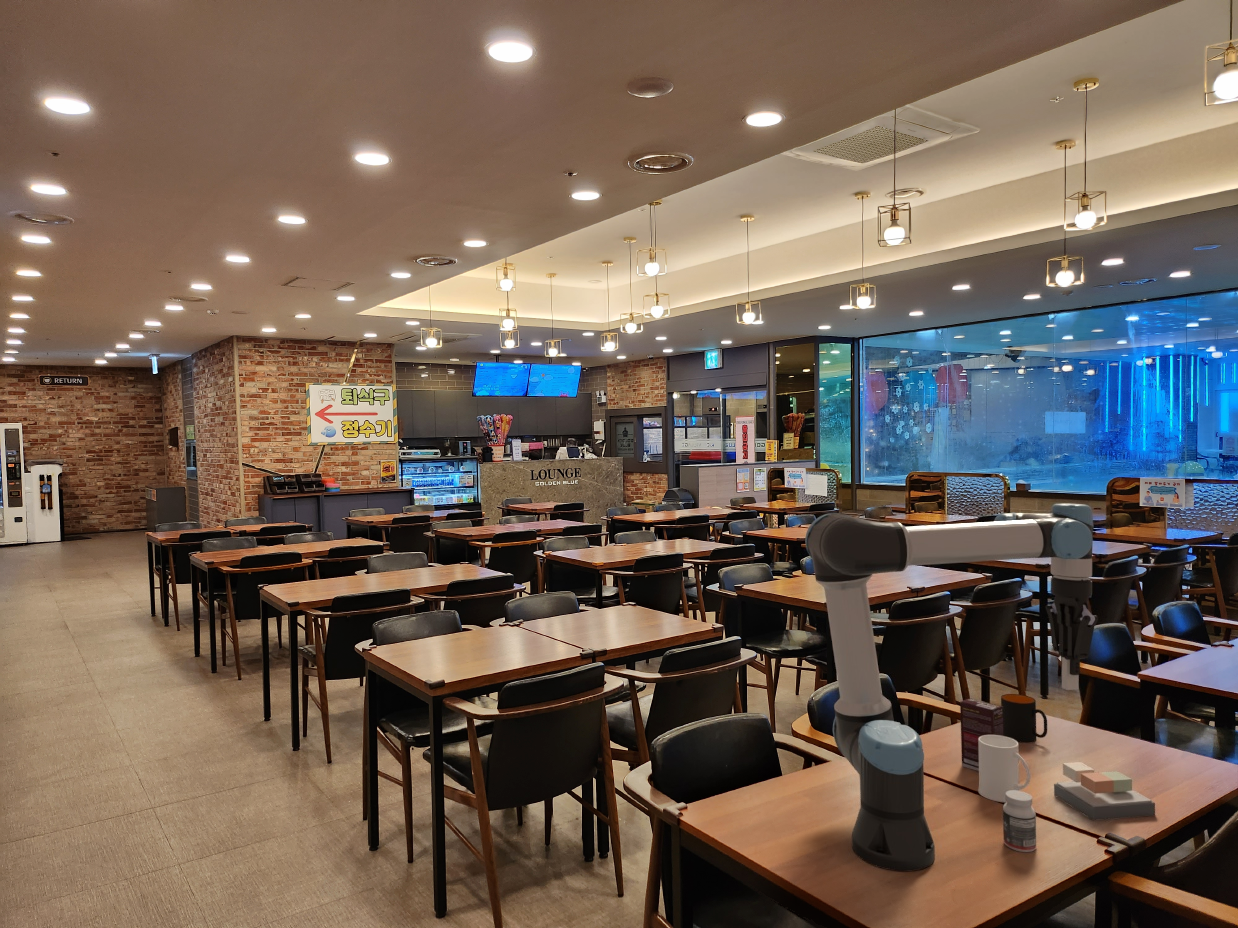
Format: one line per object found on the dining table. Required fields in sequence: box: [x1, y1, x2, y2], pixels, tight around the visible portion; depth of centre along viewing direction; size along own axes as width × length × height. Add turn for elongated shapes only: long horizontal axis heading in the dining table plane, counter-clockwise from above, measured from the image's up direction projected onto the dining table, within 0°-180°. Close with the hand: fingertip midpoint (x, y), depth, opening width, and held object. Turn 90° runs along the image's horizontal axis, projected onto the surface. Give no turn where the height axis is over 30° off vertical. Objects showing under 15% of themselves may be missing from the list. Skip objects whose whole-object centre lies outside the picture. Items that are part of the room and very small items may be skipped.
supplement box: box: [959, 698, 1004, 772], centre depth 187 cm, size 9×5×16 cm, turn 36°
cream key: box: [1062, 761, 1095, 782], centre depth 169 cm, size 4×4×2 cm
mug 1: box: [1000, 693, 1048, 744], centre depth 205 cm, size 8×12×10 cm
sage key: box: [1099, 770, 1133, 792], centre depth 167 cm, size 4×4×2 cm
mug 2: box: [977, 735, 1031, 803], centre depth 171 cm, size 12×8×12 cm
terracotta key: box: [1081, 771, 1114, 794], centre depth 163 cm, size 4×4×2 cm
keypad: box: [1053, 780, 1156, 821], centre depth 167 cm, size 14×12×3 cm
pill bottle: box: [1002, 790, 1037, 853], centre depth 150 cm, size 6×6×10 cm
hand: (1070, 688), depth 163 cm, fingers closed
